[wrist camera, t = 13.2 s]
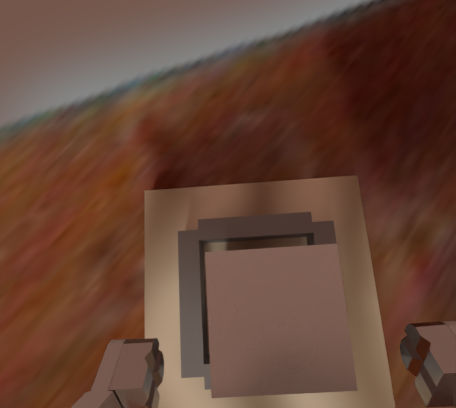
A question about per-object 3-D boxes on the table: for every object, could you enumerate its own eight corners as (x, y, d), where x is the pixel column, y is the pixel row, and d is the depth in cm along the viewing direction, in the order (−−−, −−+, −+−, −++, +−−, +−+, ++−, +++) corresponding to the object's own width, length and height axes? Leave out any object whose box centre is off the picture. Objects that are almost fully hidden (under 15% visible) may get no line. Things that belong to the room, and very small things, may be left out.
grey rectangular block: (289, 257, 19) (338, 241, 9) (296, 328, 18) (360, 392, 8) (223, 261, 19) (203, 250, 9) (227, 332, 18) (209, 400, 8)
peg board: (349, 181, 21) (370, 164, 18) (384, 406, 18) (417, 437, 15) (151, 196, 22) (134, 182, 18) (152, 417, 19) (132, 449, 15)
